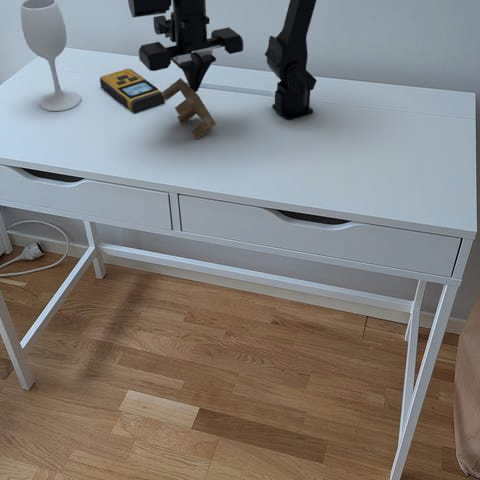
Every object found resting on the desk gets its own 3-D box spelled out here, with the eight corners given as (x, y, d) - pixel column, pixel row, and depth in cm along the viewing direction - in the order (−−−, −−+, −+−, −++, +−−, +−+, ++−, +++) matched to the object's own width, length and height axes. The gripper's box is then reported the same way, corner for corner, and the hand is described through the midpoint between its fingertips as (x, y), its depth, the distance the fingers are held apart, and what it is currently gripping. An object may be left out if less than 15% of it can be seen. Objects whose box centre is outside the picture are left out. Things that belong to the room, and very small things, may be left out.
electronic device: (131, 79, 136) (130, 65, 134) (167, 104, 127) (166, 90, 125) (98, 89, 133) (96, 75, 130) (132, 116, 123) (131, 101, 121)
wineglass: (87, 94, 129) (69, -3, 115) (69, 113, 123) (47, 12, 109) (52, 90, 131) (29, -7, 117) (32, 109, 125) (6, 8, 111)
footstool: (199, 106, 120) (180, 77, 115) (216, 124, 115) (198, 94, 109) (180, 121, 120) (160, 93, 114) (196, 139, 115) (177, 111, 109)
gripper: (216, -13, 112) (219, 65, 122) (123, 4, 105) (133, 85, 115) (244, 5, 104) (244, 87, 114) (146, 24, 98) (155, 109, 108)
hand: (194, 91), depth 113 cm, fingers closed
